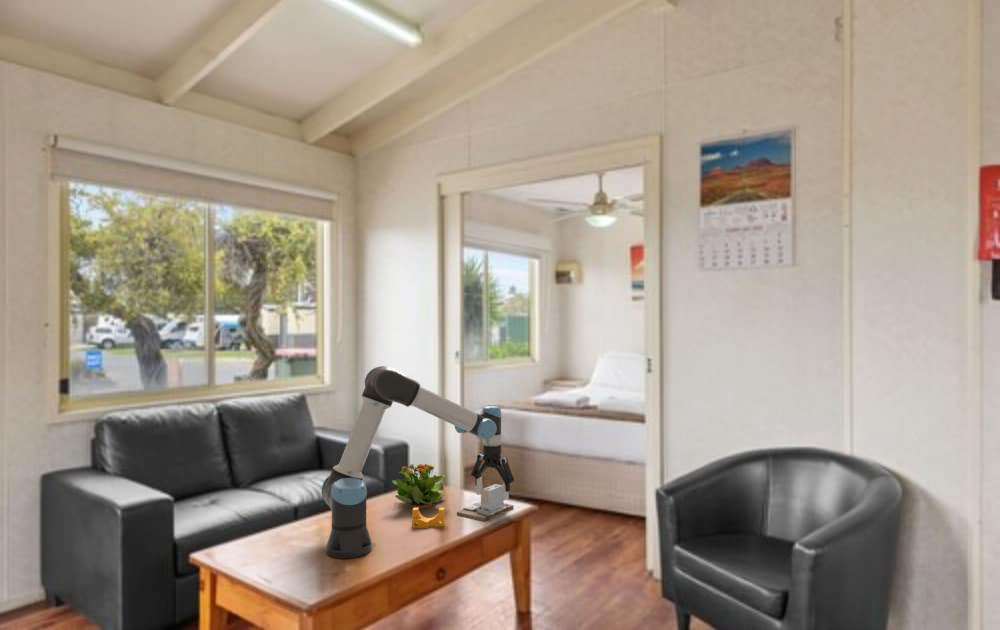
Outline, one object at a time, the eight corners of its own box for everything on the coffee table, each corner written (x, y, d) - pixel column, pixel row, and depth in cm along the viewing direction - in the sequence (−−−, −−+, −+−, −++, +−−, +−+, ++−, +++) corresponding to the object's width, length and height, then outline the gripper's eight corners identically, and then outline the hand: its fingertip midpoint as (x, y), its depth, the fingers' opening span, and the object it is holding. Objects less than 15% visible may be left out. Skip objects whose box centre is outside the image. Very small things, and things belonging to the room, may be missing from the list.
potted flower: (452, 512, 250) (452, 469, 250) (394, 517, 244) (394, 474, 244) (442, 495, 274) (441, 456, 274) (388, 500, 268) (388, 460, 268)
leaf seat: (488, 515, 242) (488, 511, 242) (476, 512, 246) (476, 509, 246) (507, 507, 252) (507, 503, 253) (496, 504, 256) (496, 501, 256)
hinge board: (484, 521, 239) (484, 515, 239) (456, 514, 247) (456, 509, 247) (513, 508, 255) (513, 502, 255) (486, 502, 263) (486, 497, 263)
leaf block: (488, 513, 244) (488, 490, 244) (481, 511, 246) (480, 489, 246) (503, 507, 252) (503, 485, 252) (495, 505, 254) (495, 483, 254)
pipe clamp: (411, 528, 232) (411, 511, 232) (413, 524, 237) (413, 507, 237) (443, 528, 232) (443, 511, 232) (444, 524, 236) (444, 507, 236)
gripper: (462, 442, 254) (463, 493, 253) (511, 449, 239) (512, 504, 239) (474, 439, 260) (474, 489, 259) (522, 446, 245) (522, 499, 245)
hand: (492, 496), depth 249 cm, fingers open, 13 cm apart
